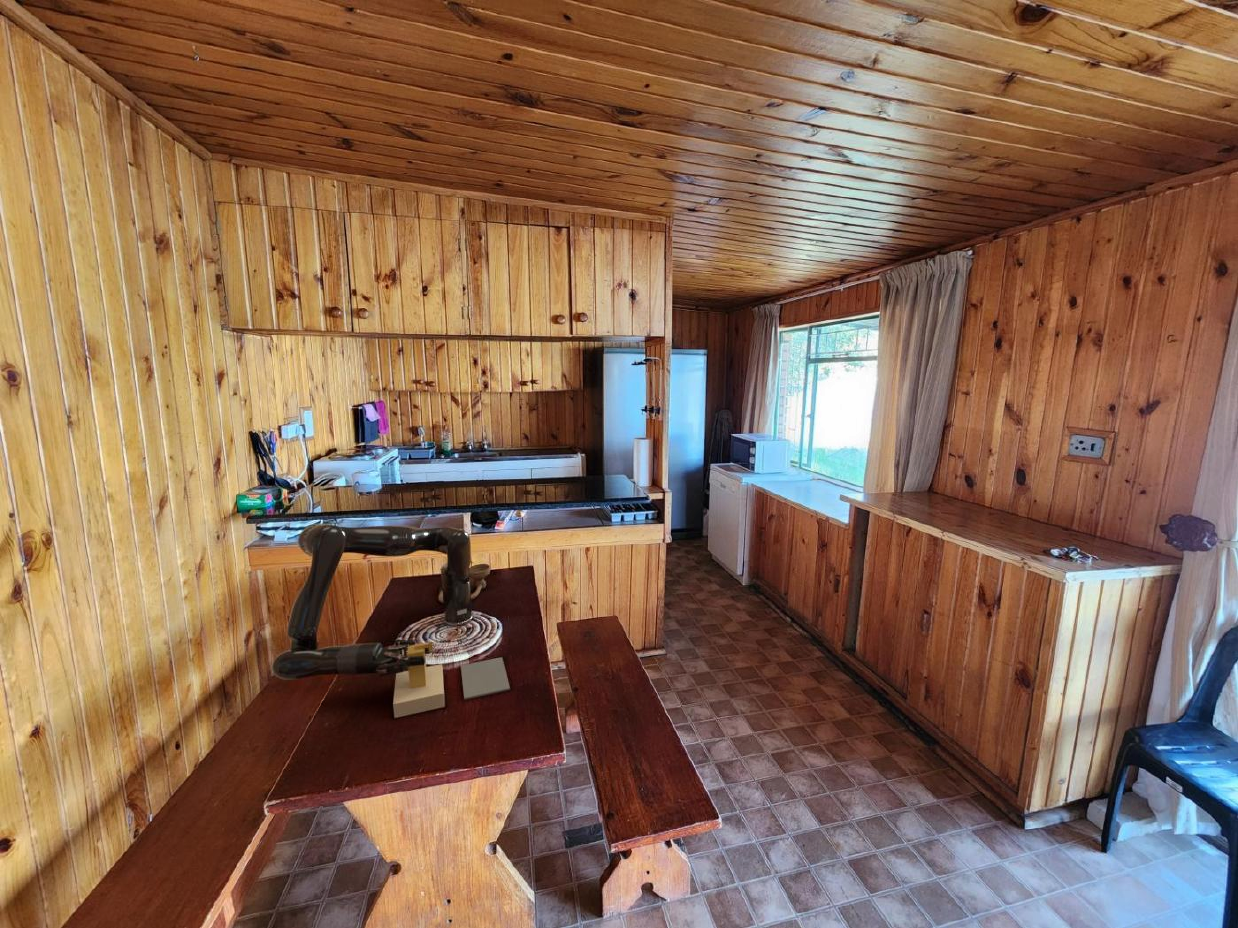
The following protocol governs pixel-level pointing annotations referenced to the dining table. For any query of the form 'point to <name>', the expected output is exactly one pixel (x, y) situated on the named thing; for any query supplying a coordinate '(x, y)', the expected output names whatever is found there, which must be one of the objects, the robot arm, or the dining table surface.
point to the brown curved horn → (475, 573)
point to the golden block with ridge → (418, 672)
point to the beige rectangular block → (418, 693)
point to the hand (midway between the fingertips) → (427, 654)
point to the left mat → (484, 678)
